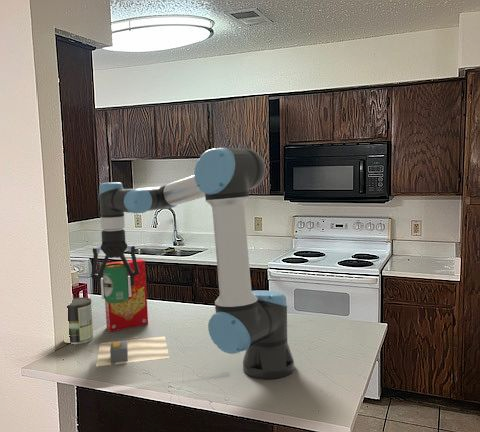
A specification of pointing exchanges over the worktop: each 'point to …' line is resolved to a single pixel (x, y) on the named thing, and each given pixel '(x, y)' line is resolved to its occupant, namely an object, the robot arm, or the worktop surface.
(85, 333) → the coffee can
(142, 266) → the food packaging
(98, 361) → the beige flat sheet
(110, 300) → the beverage can
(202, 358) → the worktop surface
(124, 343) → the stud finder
